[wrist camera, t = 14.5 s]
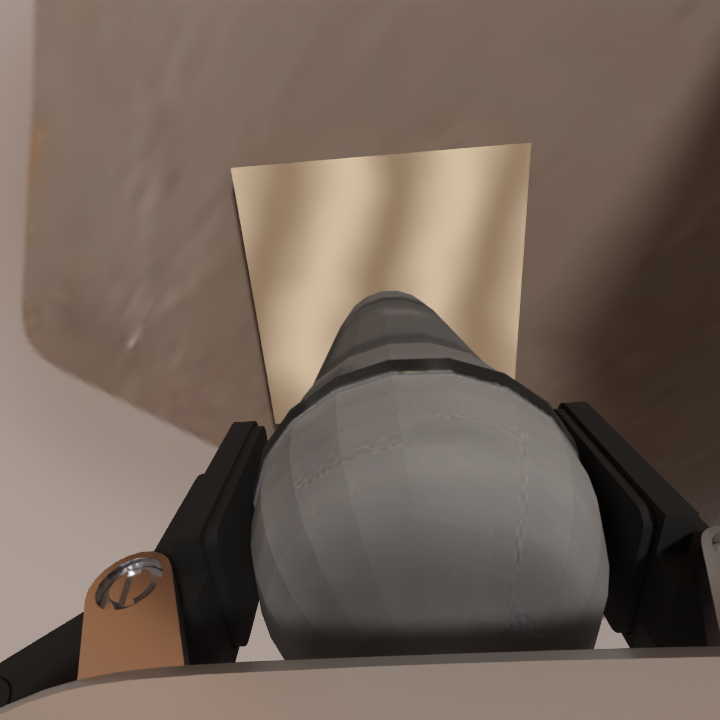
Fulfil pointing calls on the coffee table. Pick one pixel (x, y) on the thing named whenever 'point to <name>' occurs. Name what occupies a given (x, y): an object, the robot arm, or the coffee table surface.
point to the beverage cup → (423, 504)
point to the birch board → (383, 250)
